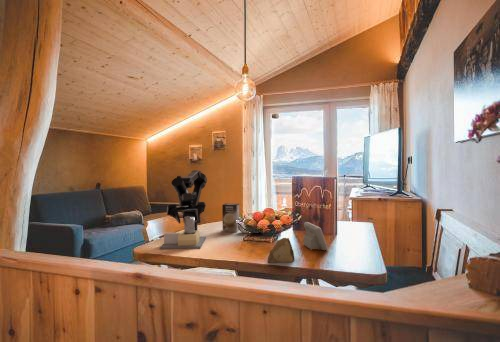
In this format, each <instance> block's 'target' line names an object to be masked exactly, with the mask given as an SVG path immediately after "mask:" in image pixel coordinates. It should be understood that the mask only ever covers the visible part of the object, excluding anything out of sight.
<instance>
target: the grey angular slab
mask: <svg viewBox="0 0 500 342" xmlns="http://www.w3.org/2000/svg"><path fill="white" fill-rule="evenodd" d="M303 226H304V230H305V234H304V235H303V238H302V239H303V245H304V247H306V248H308V249H309V250H310V251H313V250H312V249H318V250H322V251H325V250H326V251H328V249H329V247H328V243H327V241H326V238H325V236H324V232H323V230H322V228H321V227H320V226H318V225H315V224H313V223H311V222H308V221H305V222H304V223H303Z"/></svg>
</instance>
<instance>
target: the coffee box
mask: <svg viewBox="0 0 500 342" xmlns="http://www.w3.org/2000/svg"><path fill="white" fill-rule="evenodd" d="M238 218H239V219H240V203H233V202H232V203H228V202H227V203H222V232H223V233H224V232H226V233H227V232H228V233H237V232H240V230H239V228H238V224H237V223H236V220H237V219H238Z"/></svg>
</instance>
